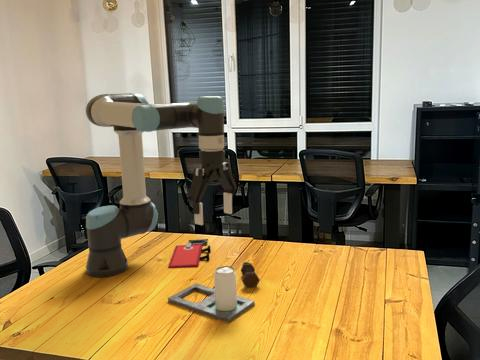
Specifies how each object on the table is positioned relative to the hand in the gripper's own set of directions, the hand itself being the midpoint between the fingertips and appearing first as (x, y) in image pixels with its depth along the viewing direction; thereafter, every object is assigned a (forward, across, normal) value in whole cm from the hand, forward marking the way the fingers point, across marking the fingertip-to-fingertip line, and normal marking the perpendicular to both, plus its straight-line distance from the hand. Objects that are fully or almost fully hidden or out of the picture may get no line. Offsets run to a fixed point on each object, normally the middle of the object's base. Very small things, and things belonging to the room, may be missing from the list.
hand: (214, 218), depth 135 cm
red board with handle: (+28, +25, +35) cm, 51 cm away
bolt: (+27, +18, 0) cm, 32 cm away
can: (+26, -4, -7) cm, 27 cm away
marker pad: (+26, -4, -7) cm, 27 cm away
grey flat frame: (+26, -4, -1) cm, 26 cm away
